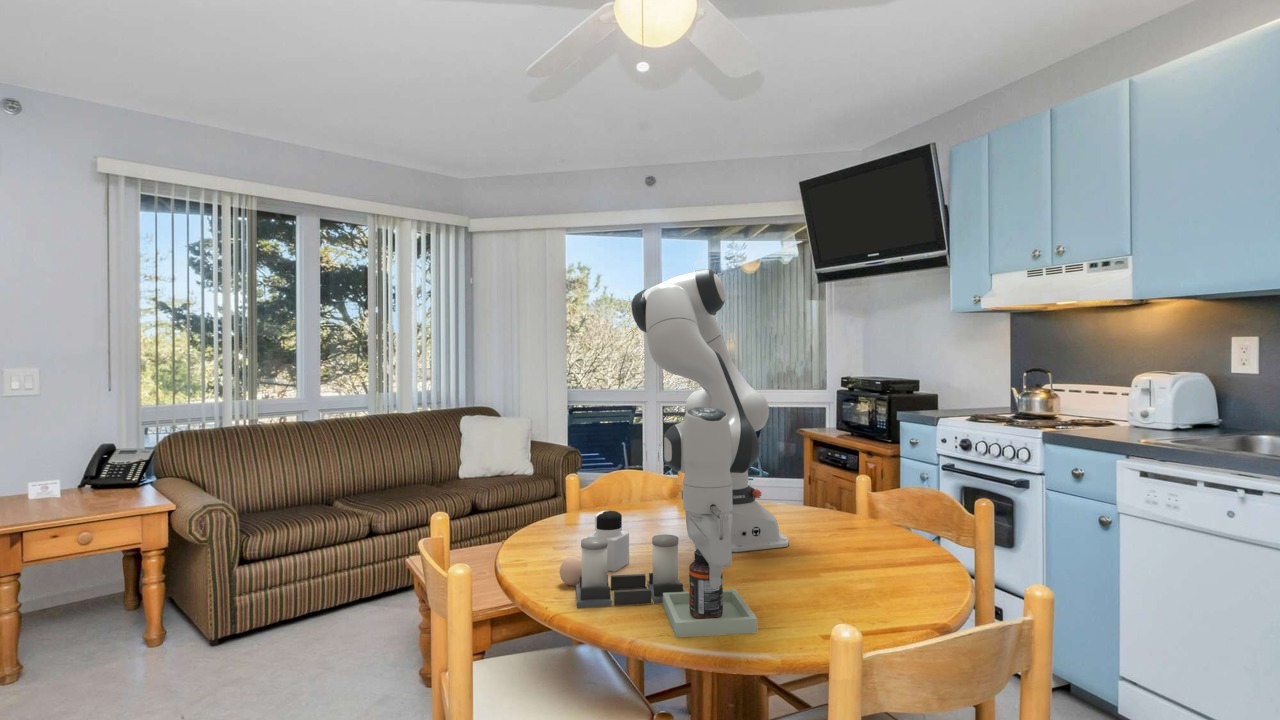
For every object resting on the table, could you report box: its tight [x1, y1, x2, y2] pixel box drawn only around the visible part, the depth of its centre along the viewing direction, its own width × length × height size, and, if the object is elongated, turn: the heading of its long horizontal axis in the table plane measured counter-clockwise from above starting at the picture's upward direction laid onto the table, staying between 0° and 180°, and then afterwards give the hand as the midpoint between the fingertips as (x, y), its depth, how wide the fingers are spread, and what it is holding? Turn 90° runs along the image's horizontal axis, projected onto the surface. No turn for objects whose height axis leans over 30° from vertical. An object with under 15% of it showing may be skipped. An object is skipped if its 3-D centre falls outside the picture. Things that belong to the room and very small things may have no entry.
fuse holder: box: [575, 533, 686, 609], centre depth 126 cm, size 21×10×11 cm, turn 97°
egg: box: [559, 555, 582, 587], centre depth 132 cm, size 5×5×6 cm
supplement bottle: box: [688, 550, 724, 619], centre depth 114 cm, size 6×6×11 cm
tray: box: [662, 588, 758, 638], centre depth 114 cm, size 14×14×2 cm
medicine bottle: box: [586, 510, 630, 573], centre depth 144 cm, size 7×7×12 cm
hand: (708, 576), depth 114 cm, fingers open, 8 cm apart
